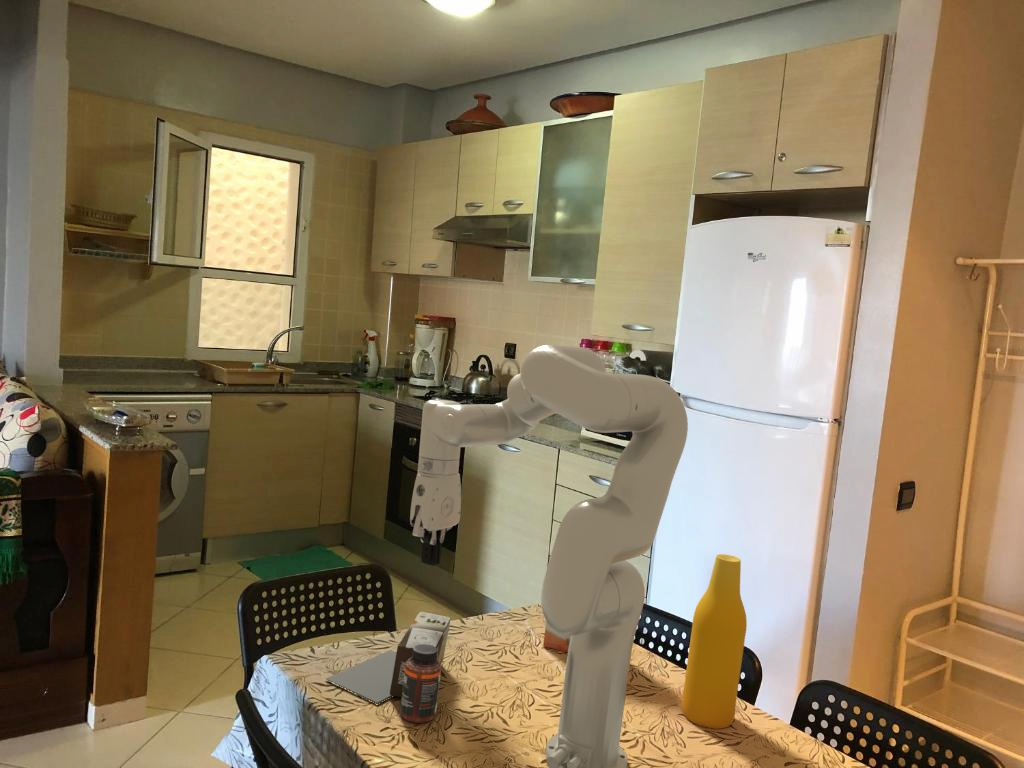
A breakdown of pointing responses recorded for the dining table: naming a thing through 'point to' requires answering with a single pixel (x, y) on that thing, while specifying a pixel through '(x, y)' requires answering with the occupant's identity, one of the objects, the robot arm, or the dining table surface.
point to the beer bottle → (716, 648)
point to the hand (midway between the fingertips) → (430, 563)
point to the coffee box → (420, 632)
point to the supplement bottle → (421, 685)
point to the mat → (369, 677)
